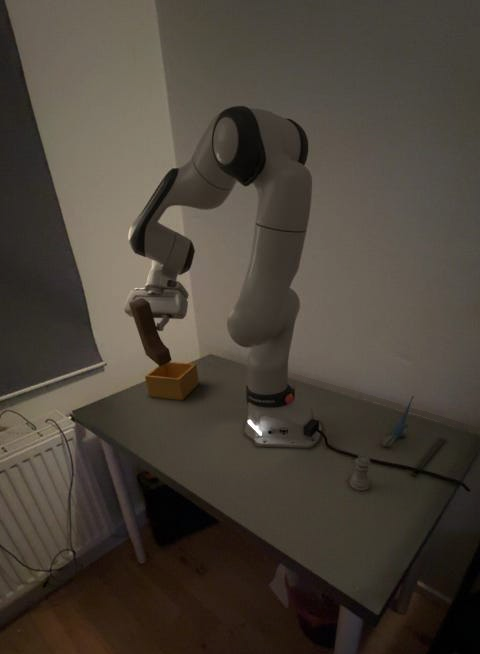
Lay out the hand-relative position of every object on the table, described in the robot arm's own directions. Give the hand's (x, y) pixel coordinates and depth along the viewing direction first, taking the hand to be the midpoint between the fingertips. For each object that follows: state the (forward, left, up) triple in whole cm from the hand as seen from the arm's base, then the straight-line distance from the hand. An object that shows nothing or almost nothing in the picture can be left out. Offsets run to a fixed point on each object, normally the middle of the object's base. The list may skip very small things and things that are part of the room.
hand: (149, 329), depth 105 cm
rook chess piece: (-65, +23, -27) cm, 74 cm away
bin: (+3, -12, -27) cm, 29 cm away
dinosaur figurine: (-73, +2, -27) cm, 78 cm away
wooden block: (-1, 0, -9) cm, 9 cm away
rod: (-81, +8, -27) cm, 86 cm away
